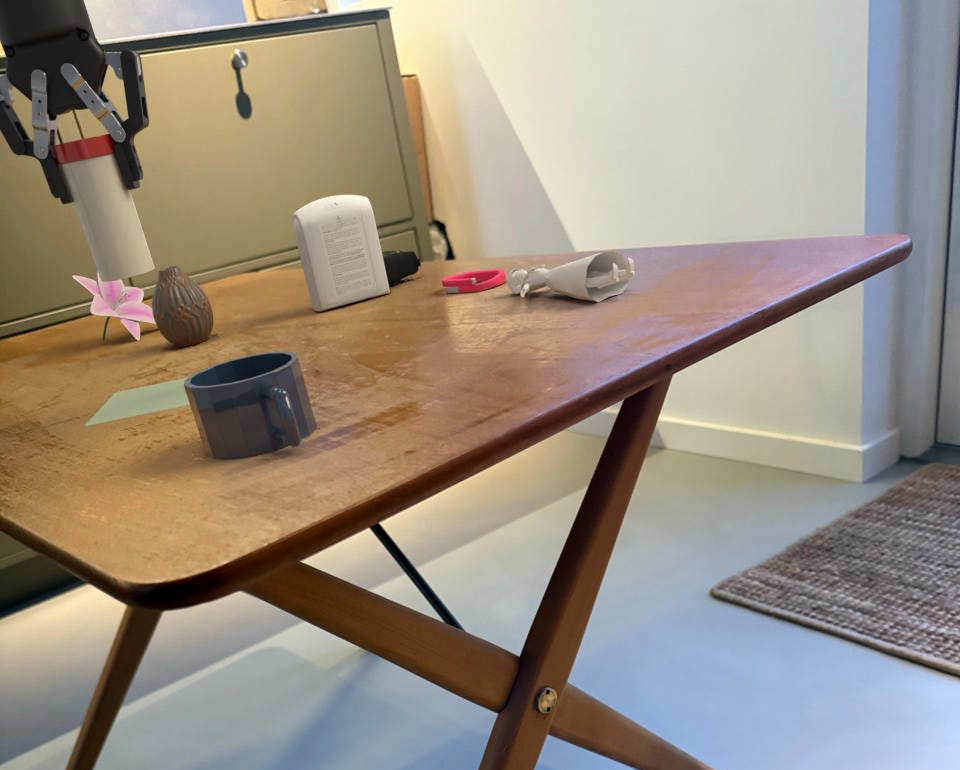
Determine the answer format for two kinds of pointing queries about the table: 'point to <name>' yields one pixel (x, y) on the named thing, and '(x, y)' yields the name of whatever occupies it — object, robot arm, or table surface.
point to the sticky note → (142, 401)
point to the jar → (105, 207)
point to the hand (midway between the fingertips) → (101, 195)
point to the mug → (251, 405)
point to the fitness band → (473, 280)
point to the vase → (181, 308)
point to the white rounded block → (340, 251)
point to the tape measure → (400, 265)
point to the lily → (118, 303)
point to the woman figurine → (578, 277)
